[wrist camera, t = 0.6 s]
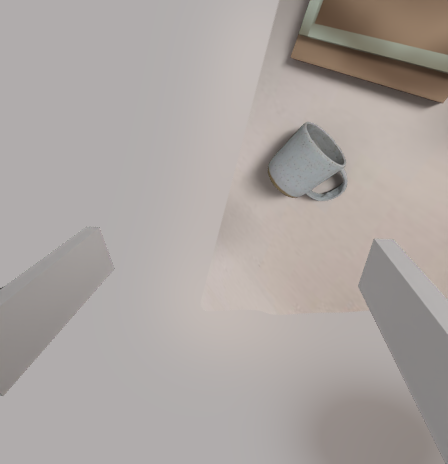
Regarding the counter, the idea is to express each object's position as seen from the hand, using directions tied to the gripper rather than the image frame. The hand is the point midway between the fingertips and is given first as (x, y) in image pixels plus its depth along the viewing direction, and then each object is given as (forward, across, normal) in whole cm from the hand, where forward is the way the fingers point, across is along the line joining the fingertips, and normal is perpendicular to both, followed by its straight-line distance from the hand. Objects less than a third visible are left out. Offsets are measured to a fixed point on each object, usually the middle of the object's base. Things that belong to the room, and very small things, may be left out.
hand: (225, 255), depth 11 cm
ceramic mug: (+28, +10, -2) cm, 30 cm away
